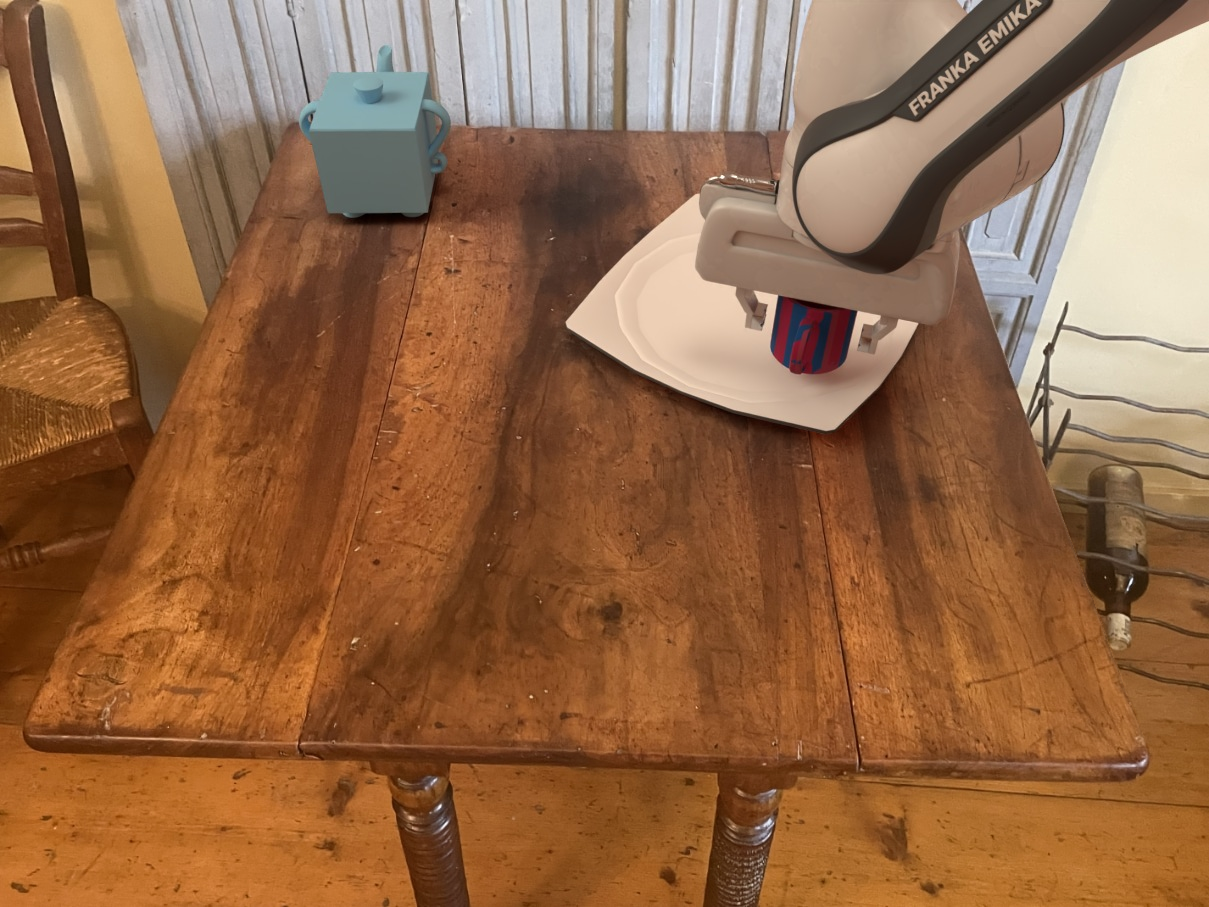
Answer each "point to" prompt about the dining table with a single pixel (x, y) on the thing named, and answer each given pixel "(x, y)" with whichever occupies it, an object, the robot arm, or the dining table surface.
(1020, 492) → the dining table surface
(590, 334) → the plate
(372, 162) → the teapot
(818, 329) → the mug
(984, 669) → the dining table surface
